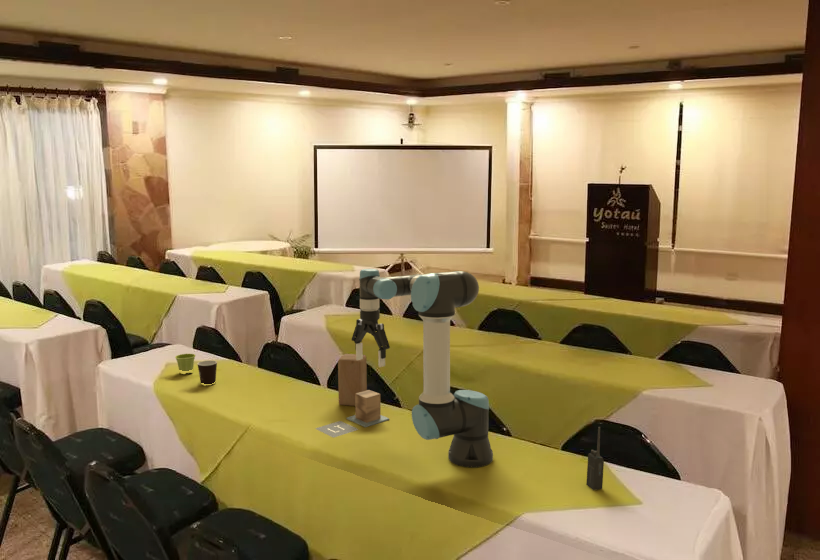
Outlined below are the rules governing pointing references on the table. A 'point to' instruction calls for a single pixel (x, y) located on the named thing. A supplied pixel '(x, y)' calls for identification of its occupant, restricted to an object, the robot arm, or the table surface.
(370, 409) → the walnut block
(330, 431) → the plate
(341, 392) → the wooden block
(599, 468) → the walkie-talkie
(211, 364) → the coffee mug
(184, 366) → the plant pot
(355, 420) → the pad
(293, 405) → the table surface
